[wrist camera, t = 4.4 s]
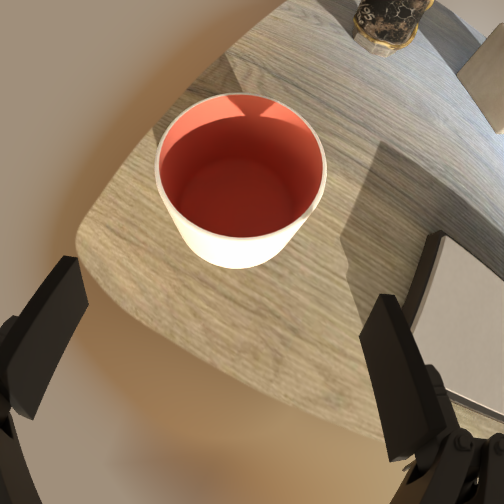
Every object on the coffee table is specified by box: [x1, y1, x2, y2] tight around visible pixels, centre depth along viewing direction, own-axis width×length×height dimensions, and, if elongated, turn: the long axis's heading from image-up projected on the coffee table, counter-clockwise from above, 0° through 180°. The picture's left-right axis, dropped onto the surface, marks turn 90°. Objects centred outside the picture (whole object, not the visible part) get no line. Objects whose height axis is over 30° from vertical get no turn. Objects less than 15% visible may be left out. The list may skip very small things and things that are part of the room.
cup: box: [154, 92, 327, 268], centre depth 22 cm, size 10×10×10 cm
